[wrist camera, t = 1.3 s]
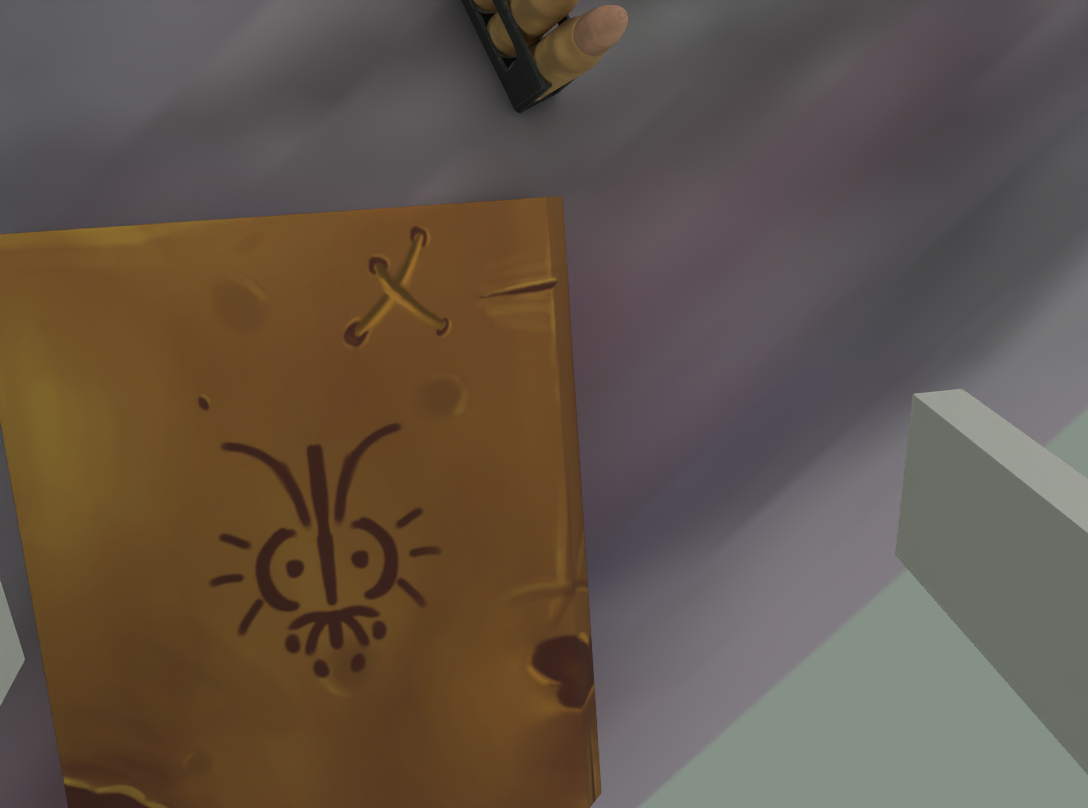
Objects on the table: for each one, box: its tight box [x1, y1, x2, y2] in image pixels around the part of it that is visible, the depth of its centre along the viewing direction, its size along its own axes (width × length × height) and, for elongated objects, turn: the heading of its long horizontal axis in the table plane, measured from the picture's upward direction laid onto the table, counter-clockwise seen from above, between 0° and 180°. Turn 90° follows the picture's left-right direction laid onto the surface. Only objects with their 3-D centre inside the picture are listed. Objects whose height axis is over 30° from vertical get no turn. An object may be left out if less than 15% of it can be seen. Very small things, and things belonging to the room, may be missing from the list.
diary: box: [0, 197, 601, 808], centre depth 37 cm, size 23×19×6 cm
